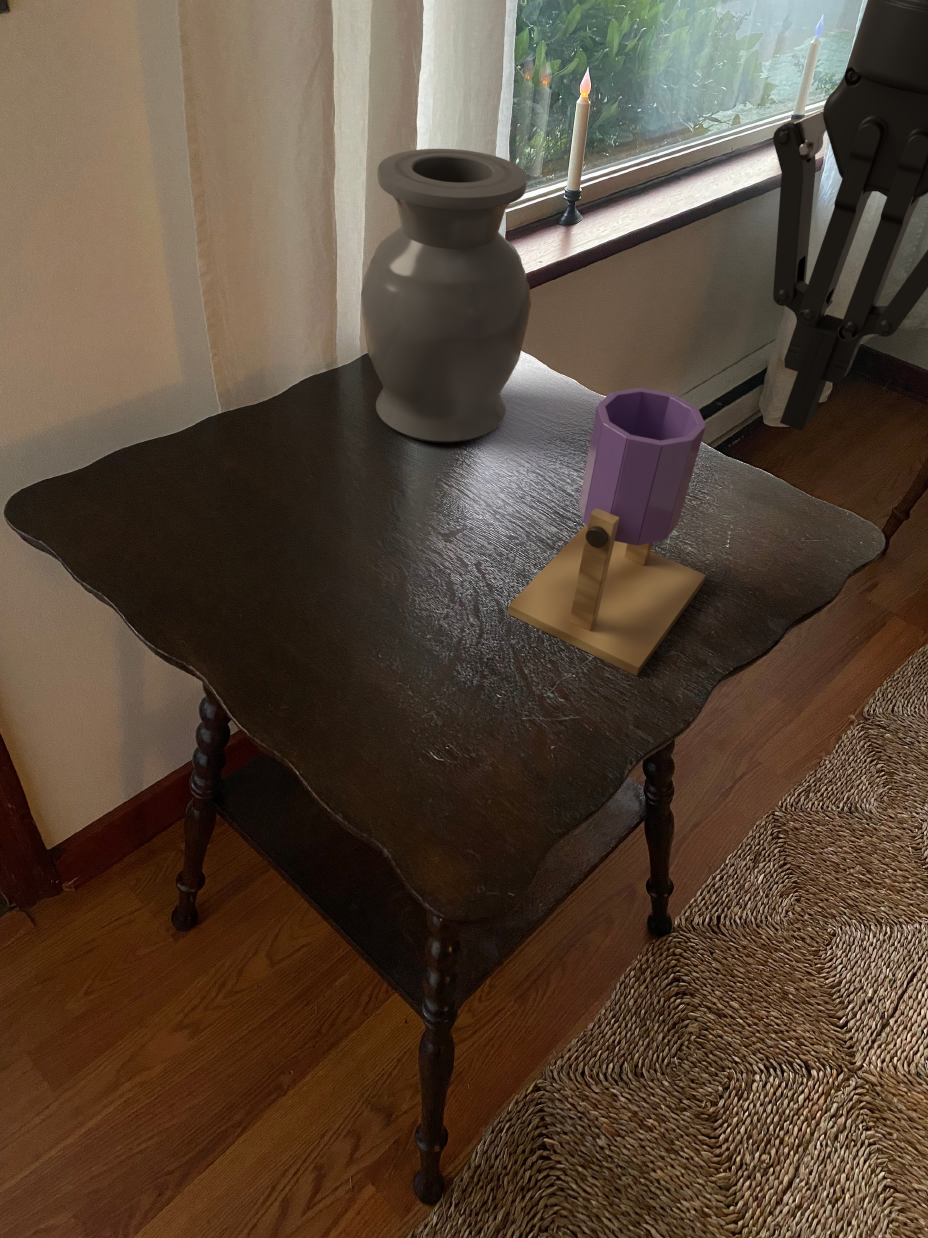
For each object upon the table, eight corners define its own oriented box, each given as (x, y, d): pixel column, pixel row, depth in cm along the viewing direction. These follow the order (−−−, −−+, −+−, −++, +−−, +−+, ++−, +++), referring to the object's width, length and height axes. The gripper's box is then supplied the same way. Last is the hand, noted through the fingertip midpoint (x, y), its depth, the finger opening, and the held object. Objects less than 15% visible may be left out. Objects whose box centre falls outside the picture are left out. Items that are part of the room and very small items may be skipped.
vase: (348, 383, 101) (341, 142, 84) (488, 369, 106) (509, 137, 88) (384, 464, 90) (384, 205, 73) (539, 445, 94) (574, 196, 77)
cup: (693, 505, 73) (722, 407, 67) (647, 562, 67) (674, 460, 61) (610, 472, 75) (630, 374, 69) (559, 523, 70) (576, 422, 64)
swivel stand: (703, 583, 80) (740, 470, 71) (636, 676, 71) (670, 559, 63) (584, 532, 84) (606, 419, 76) (507, 613, 75) (522, 497, 67)
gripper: (799, -27, 43) (683, 408, 59) (1095, 22, 38) (881, 479, 55) (843, -42, 48) (725, 365, 64) (1111, 1, 43) (910, 428, 59)
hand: (797, 417), depth 59 cm, fingers closed
